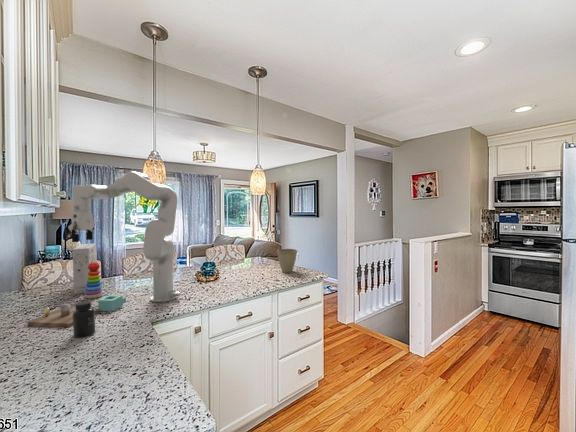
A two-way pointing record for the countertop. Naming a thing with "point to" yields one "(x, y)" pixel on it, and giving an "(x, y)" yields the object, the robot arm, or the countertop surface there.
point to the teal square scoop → (111, 303)
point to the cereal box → (82, 265)
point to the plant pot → (287, 259)
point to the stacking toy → (93, 282)
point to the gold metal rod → (46, 312)
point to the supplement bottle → (83, 319)
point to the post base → (57, 318)
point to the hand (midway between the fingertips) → (82, 240)
